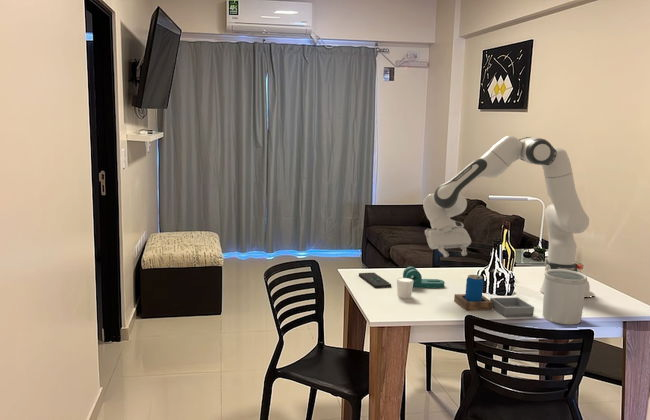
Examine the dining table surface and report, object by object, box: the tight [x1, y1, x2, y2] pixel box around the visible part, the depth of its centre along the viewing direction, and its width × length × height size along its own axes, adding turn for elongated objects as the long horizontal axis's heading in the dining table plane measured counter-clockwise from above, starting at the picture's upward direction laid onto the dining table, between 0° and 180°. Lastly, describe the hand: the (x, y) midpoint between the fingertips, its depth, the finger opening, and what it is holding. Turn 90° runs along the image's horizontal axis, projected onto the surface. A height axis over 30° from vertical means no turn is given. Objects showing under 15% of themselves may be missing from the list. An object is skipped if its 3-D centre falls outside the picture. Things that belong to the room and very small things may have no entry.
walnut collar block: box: [453, 293, 494, 312], centre depth 229 cm, size 11×11×3 cm
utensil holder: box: [542, 269, 588, 325], centre depth 217 cm, size 15×15×18 cm
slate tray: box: [489, 296, 535, 318], centre depth 225 cm, size 12×12×4 cm
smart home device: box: [358, 272, 392, 289], centre depth 258 cm, size 8×2×20 cm
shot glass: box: [396, 277, 414, 299], centre depth 238 cm, size 7×7×7 cm
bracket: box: [402, 266, 446, 289], centre depth 254 cm, size 18×7×8 cm, turn 95°
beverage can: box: [464, 274, 484, 302], centre depth 229 cm, size 6×6×12 cm
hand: (456, 255), depth 238 cm, fingers open, 8 cm apart
